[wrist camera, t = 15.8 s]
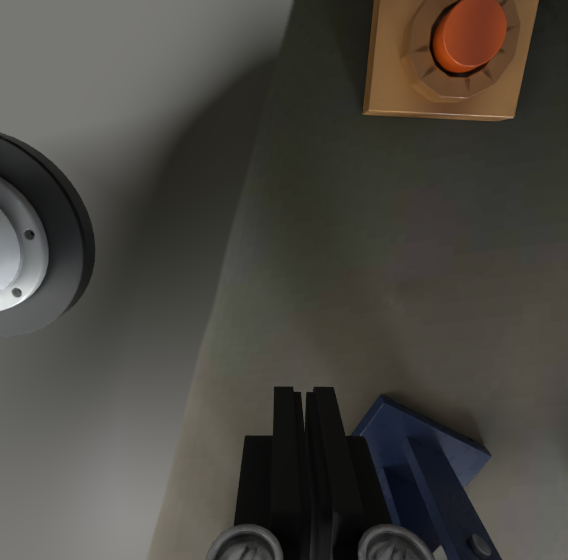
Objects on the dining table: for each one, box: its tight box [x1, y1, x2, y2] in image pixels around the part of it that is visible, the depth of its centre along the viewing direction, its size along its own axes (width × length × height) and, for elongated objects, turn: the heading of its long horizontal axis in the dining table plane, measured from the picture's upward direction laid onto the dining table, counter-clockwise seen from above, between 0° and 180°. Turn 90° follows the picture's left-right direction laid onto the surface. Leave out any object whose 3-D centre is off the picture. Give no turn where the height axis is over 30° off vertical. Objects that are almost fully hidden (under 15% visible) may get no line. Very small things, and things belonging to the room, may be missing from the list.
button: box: [433, 0, 507, 73], centre depth 22 cm, size 4×4×2 cm
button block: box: [363, 0, 539, 121], centre depth 25 cm, size 10×8×4 cm
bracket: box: [351, 395, 502, 560], centre depth 30 cm, size 12×9×13 cm
